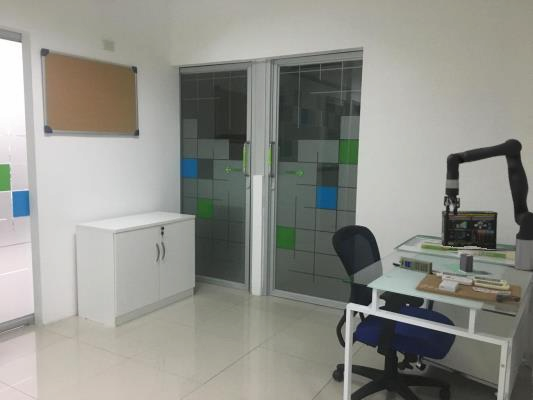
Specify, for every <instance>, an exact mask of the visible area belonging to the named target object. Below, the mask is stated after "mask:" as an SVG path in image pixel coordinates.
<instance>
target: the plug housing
mask: <svg viewBox="0 0 533 400" xmlns="http://www.w3.org/2000/svg"><path fill="white" fill-rule="evenodd" d="M459 264H460V270H461V271H464V272H473V269H474V255H471V254H469V253H460V255H459Z"/></svg>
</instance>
